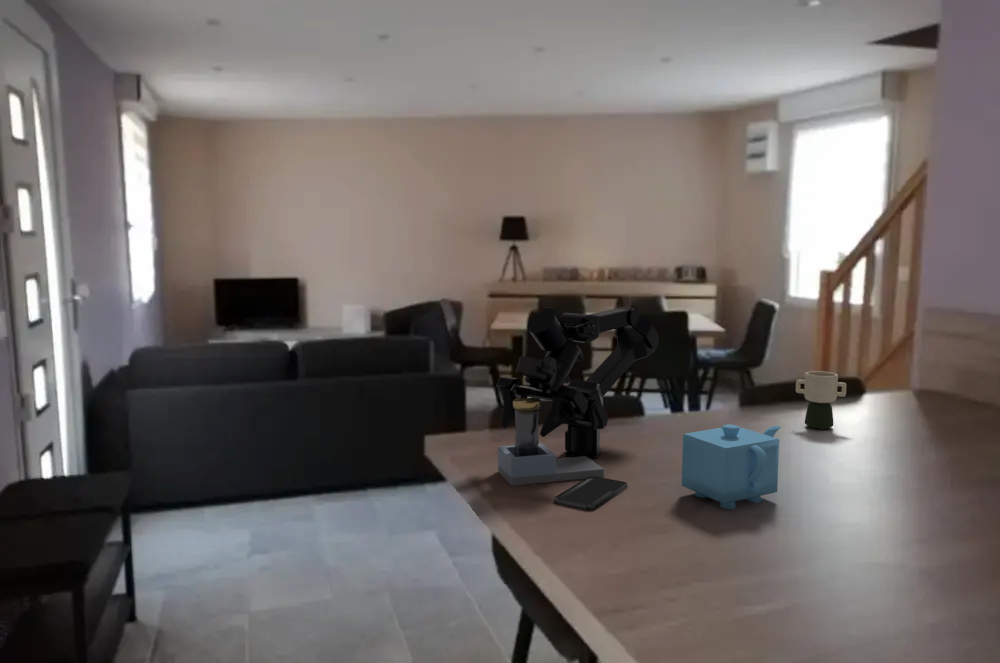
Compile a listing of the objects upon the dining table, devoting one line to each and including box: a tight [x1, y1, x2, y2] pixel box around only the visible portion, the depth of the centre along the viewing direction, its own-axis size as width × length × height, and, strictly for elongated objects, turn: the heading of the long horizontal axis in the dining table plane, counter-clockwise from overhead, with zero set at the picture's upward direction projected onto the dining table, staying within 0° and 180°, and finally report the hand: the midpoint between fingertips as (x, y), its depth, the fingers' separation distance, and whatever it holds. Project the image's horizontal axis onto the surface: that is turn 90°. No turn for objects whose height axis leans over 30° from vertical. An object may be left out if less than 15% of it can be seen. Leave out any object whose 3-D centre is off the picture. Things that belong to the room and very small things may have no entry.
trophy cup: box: [795, 370, 847, 429], centre depth 180 cm, size 11×7×13 cm, turn 65°
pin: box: [513, 397, 541, 457], centre depth 146 cm, size 5×5×13 cm
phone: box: [553, 476, 628, 512], centre depth 136 cm, size 8×1×15 cm
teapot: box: [681, 423, 782, 510], centre depth 135 cm, size 18×16×13 cm
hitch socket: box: [497, 442, 605, 487], centre depth 148 cm, size 18×9×5 cm, turn 106°
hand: (522, 431), depth 144 cm, fingers open, 9 cm apart
